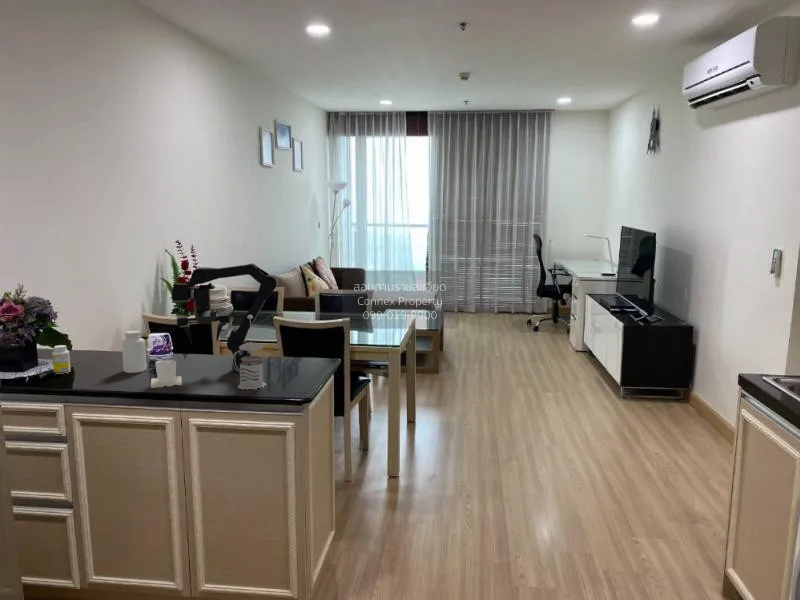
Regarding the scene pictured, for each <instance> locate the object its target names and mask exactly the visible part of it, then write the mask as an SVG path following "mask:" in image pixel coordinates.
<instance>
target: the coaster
mask: <svg viewBox="0 0 800 600" xmlns="http://www.w3.org/2000/svg"><path fill="white" fill-rule="evenodd" d="M150 381H151V382H150V388H151V389H153V388H154V389H155V388H165V387H164V386H167V387H174V386H173V385H179V386H183V382H182V376H181V375H180V376H177V375H176V376H175V381H173V382H169V383H160V382H158V378H157V377H156V378H155V377H154V378H153V377H152V378H151V380H150Z"/></svg>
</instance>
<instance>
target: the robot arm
mask: <svg viewBox="0 0 800 600" xmlns="http://www.w3.org/2000/svg"><path fill="white" fill-rule="evenodd" d="M247 275H248V276H250V277H252V278H253V279H254V281H256V282H257V283H258V284H259V287H258V291H257V295H256V296H255V299H254V300H253V302H252V303H251V306H250V307H249V309H248V311H247V313H246V314H245V316H244V318H243V320H242V321H241V324H240V325H239V327H238V328H236V327H233V329H231V331H230V334H229V336H228V337H227V338H226V347H227V349H228V350H229V351H230V352H231V353H232V357H231V360H232V358H233V364H234V366H233V364H232V363H231V369H232V370H233V372H234V373H240V372H239V371H240V370H239V369H240V363H241V365H242V362H243V361H241V358H243V357H247V356H251V352H250V351H245V350H242V354H241V351H240V354H241V355H240V354H239V352H238V353H237V354H236V356H235V355H234V354H235V353H236V352H237V351H239V350H240V348H239V347H240V346H241V345H243V344H245V343H248V342H247V341H246V340H247V338H248V335H249V332H250V331H249V330H250V319H248V318H247V317H248V315H252V316H253V318H251V326H253V324H254V322H255V320H256V319H257V317H258V315H259V313H260V311H261V309H262V308H263V306H264V304H265V302H266V300H267V299H268V298H269V297H270V296H271V294H273V292H274V290H275V289H276V288H277V287H278V286H279V279H278V277H277V276H276V275H274V274H271V273H268V272H267V271H265V270H264V269H262V268H260V267H259V266H257V265H256V264H255V263H252V262H251V263H248V264H240V265H234V266H233V265H232V266H226V267H225V266H224V267H219V268H218V267H206V266H205V267H204V266H201V267H198V268H196V269H194V270H193V271H192V273H191V278H190V279H189V281H188V282H187V283H178V282H177V283H173V285H172V292H171V298H172V302H174V303H175V302H176V303H180V302H181V303H182V302H185V303H186V302H190V301H191V299H193V305H194V307H193V308H194V317H188V315H183V316H181V315H179V316H177V317H176V318H175V319H176V326H177V327H180V328H181V329H184V330H185V332H186V334H187V337H188V339H189V342H190V344H193V339H192V334H191V328H190V324H195V323H197V324H198V325H203V324H205V325H206V324H207V325H211V324H212V323H214V322H216V332H215V333H216V334H215V341H216V342H218V341H219V338H220V334H221V331H222V329H223V328H224V326H226V325H227V324H229V323H231V321H230V320H231V319H230V316H229V314H228V313H217V309H211V290H215V289H216V286H215V285H214V284H212V281H214V280H218V279H226V278H233V277H239V276H247ZM206 283H207V284H206ZM197 285H198V287H195V286H197ZM233 355H234V357H235V362H234V357H233ZM235 363H236V365H237V367H238V368H239V369H238V368H237V367H236V365H235ZM250 365H252V363H251V364H248V365H247V366H250ZM234 367H235V368H236V369H237V370H238V371H237V370H236V369H235V368H234ZM241 370H242V368H241ZM247 370H248V369H247Z"/></svg>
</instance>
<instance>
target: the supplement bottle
mask: <svg viewBox="0 0 800 600" xmlns="http://www.w3.org/2000/svg"><path fill="white" fill-rule="evenodd" d="M53 347H54V348H53V352H52V353H51V356H52V357H51V358H52V367H53V368H52V369H53V370H52V371H53V374H54V373H56V374H63V373H67V374H69V372H70V373H71V359H70V350H68V349H67V345H66V344H65V345H64V344H63V345H62V344H59V345H55V346H53ZM56 374H55V375H56ZM63 375H64V374H63Z"/></svg>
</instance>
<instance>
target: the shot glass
mask: <svg viewBox="0 0 800 600" xmlns="http://www.w3.org/2000/svg"><path fill="white" fill-rule="evenodd" d="M154 363H155V369H156V376H157V377H156V378H158V382H160V383H169V382H173V381H175V377H176V376H177V375H176V373H177V372H176V369H177V360H175V359H167V358H166V359H161V360H156V361H155V362H154Z"/></svg>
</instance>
